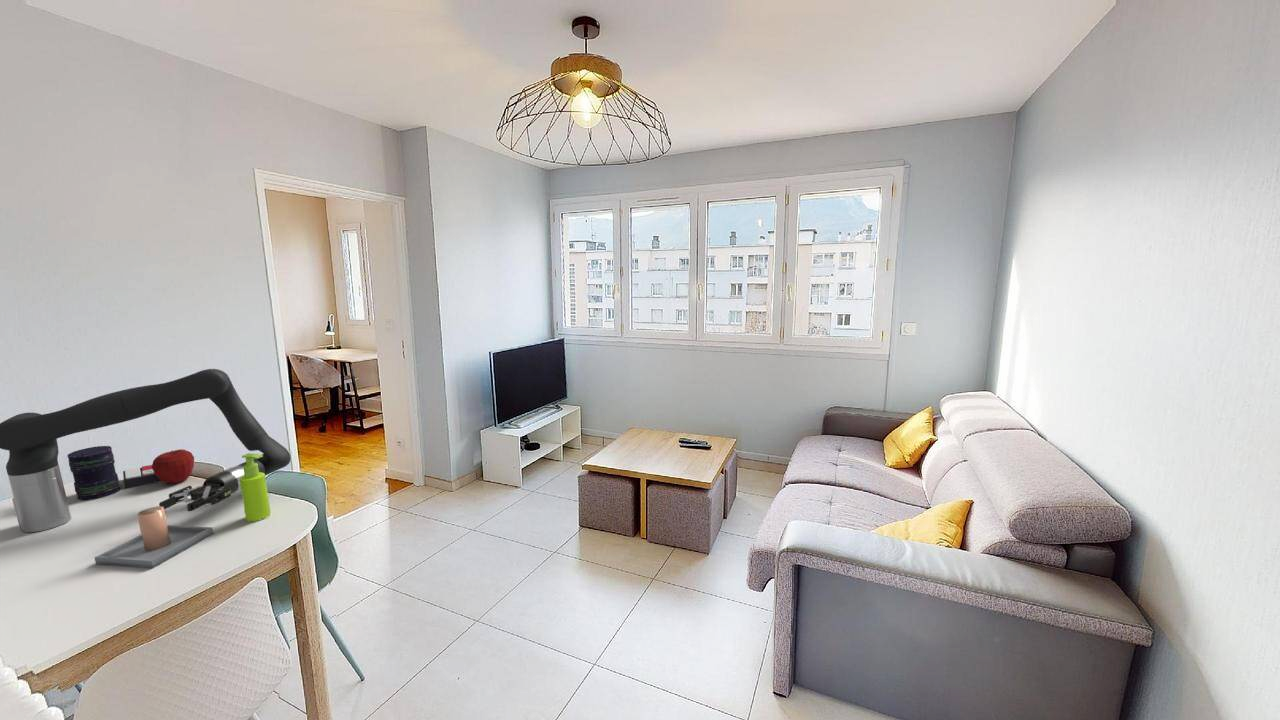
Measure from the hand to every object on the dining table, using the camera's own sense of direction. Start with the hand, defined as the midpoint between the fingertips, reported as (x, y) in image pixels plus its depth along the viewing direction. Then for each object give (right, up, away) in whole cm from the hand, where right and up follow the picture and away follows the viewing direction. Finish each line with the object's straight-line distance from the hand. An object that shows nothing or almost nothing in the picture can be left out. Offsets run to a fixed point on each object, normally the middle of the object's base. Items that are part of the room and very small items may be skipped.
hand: (174, 507), depth 135 cm
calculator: (-45, -2, +40) cm, 60 cm away
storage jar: (-51, -4, +27) cm, 58 cm away
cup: (-1, -9, -4) cm, 10 cm away
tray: (-1, -10, -4) cm, 11 cm away
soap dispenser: (+14, -7, +12) cm, 20 cm away
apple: (-34, -2, +36) cm, 50 cm away
